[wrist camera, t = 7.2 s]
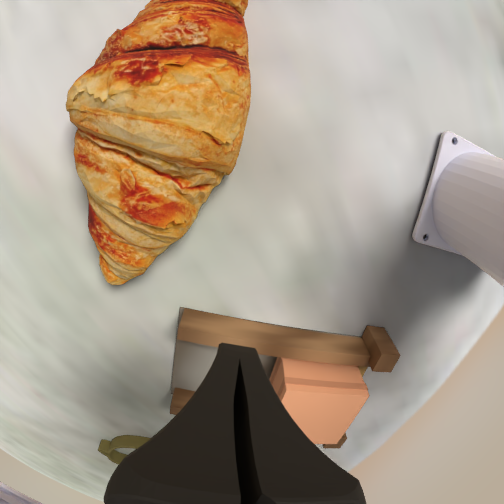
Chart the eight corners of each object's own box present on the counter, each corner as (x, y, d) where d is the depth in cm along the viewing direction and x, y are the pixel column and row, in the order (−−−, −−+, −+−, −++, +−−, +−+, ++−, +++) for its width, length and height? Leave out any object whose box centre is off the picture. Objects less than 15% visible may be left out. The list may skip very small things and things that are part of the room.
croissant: (174, 262, 25) (210, 331, 19) (46, 252, 19) (37, 330, 13) (264, -3, 17) (341, -23, 11) (128, -50, 11) (153, -109, 5)
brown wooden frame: (384, 327, 23) (400, 355, 20) (332, 420, 27) (339, 448, 24) (182, 293, 22) (172, 322, 18) (170, 400, 26) (163, 429, 23)
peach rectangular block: (354, 355, 23) (370, 395, 19) (327, 406, 26) (336, 444, 22) (280, 346, 23) (285, 389, 19) (260, 400, 25) (262, 441, 21)
